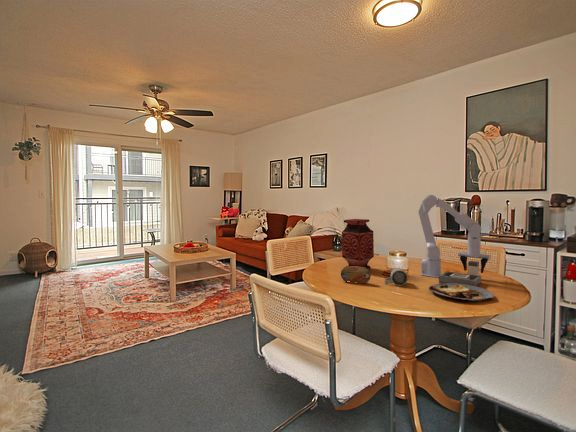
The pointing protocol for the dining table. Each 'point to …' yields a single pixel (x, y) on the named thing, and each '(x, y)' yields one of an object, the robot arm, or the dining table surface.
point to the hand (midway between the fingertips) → (473, 271)
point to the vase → (357, 243)
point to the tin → (355, 274)
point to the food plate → (460, 291)
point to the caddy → (460, 278)
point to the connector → (473, 268)
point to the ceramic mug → (397, 277)
